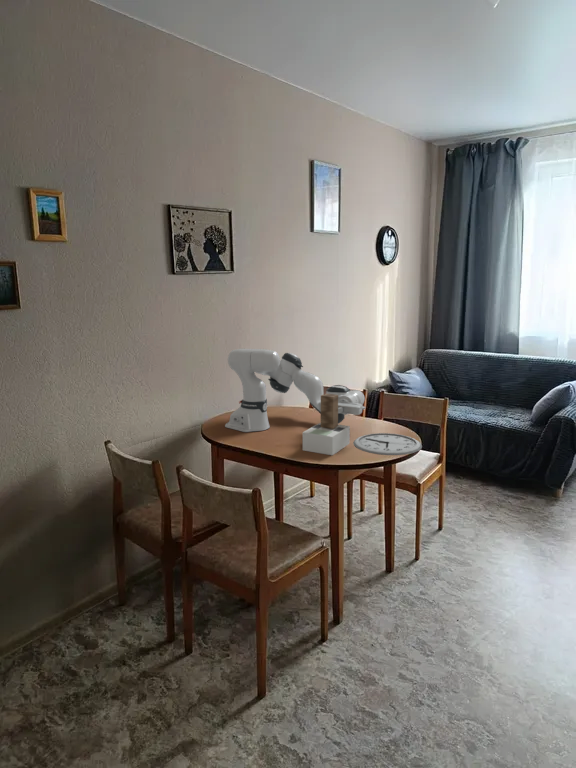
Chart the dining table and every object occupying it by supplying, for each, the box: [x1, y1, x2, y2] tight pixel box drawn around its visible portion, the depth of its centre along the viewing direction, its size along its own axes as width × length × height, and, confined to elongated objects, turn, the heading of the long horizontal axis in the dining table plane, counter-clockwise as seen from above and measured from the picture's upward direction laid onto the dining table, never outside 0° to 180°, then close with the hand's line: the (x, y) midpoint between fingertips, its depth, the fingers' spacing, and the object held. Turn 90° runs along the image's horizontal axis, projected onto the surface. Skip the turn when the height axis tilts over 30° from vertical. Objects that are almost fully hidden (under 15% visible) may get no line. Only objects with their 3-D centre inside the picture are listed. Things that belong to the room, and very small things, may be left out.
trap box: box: [302, 422, 351, 456], centre depth 232 cm, size 14×18×8 cm
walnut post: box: [320, 393, 339, 429], centre depth 232 cm, size 6×5×14 cm
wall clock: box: [352, 432, 423, 456], centre depth 236 cm, size 30×2×30 cm
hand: (333, 411), depth 234 cm, fingers closed, pressing on walnut post
